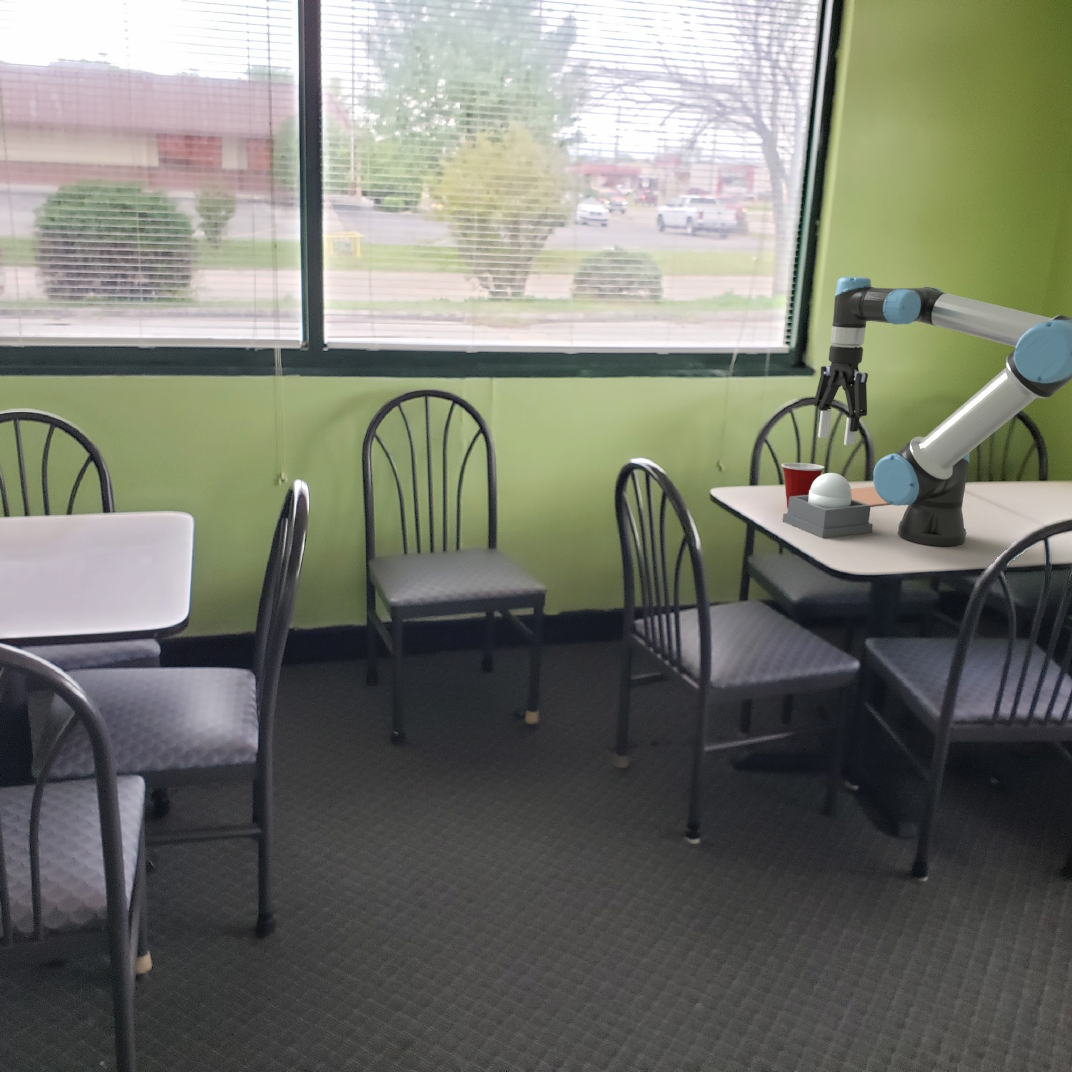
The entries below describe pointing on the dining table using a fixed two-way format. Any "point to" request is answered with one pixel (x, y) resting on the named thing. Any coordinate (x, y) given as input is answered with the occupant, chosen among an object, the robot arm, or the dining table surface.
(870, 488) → the mat
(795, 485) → the plastic cup
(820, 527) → the dome housing
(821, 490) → the dome
